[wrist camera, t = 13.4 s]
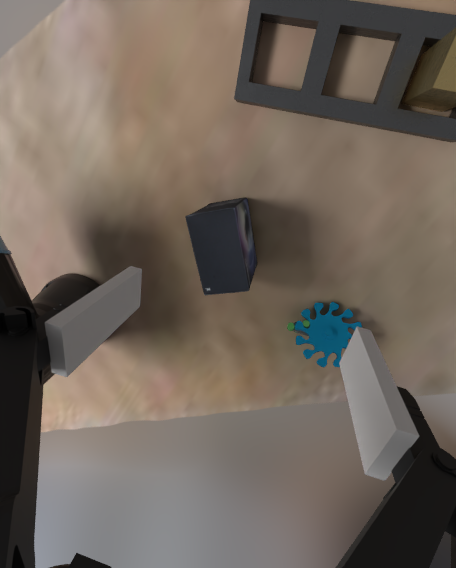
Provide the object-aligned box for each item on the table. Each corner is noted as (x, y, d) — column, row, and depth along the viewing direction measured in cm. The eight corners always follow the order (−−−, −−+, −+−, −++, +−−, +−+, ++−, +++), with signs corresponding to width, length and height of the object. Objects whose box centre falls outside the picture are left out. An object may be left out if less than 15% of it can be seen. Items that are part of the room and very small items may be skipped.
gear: (370, 310, 41) (359, 377, 38) (359, 319, 46) (348, 379, 43) (296, 291, 44) (280, 352, 41) (294, 302, 49) (279, 357, 46)
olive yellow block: (401, 103, 32) (432, 87, 25) (420, 55, 30) (461, 22, 23) (441, 111, 31) (485, 97, 24) (464, 63, 29) (519, 31, 22)
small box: (260, 264, 43) (251, 293, 34) (221, 268, 45) (202, 297, 36) (249, 195, 39) (236, 206, 30) (206, 203, 41) (181, 216, 32)
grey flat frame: (237, 102, 35) (234, 98, 33) (254, -3, 31) (252, -14, 29) (450, 142, 32) (460, 141, 30) (504, 32, 28) (519, 23, 26)
